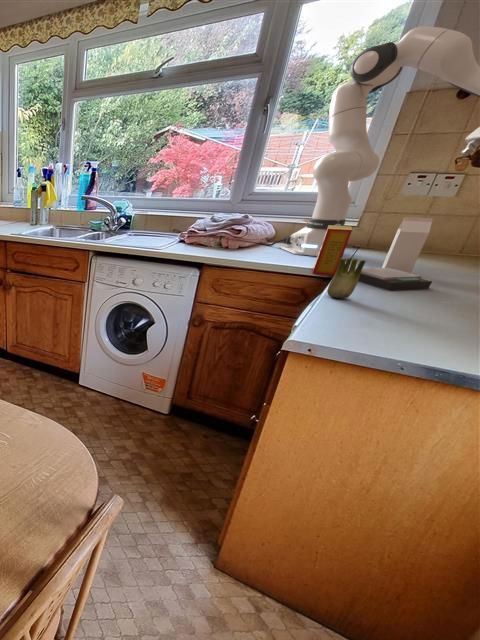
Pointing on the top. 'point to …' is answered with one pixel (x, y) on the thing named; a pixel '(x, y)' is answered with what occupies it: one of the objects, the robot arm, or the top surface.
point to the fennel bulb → (345, 278)
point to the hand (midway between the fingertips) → (475, 152)
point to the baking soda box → (332, 249)
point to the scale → (392, 279)
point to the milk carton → (407, 244)
